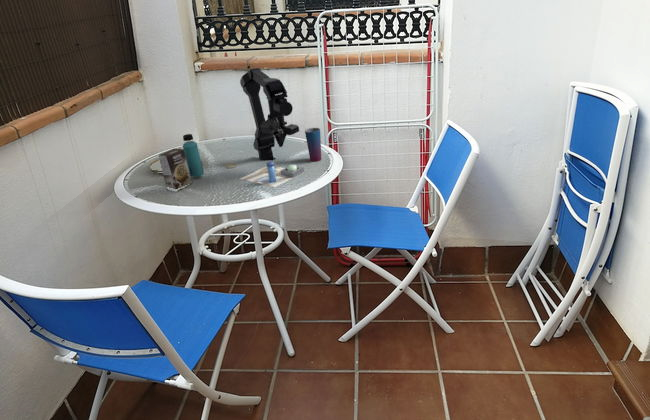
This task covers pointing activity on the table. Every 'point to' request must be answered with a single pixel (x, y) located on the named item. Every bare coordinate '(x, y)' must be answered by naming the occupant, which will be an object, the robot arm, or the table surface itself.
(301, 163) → the table surface
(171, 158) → the coffee box
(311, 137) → the cup
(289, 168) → the button
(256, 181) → the beige flat board
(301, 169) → the button housing
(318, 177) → the table surface
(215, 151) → the table surface
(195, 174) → the beverage bottle
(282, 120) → the robot arm
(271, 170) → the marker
